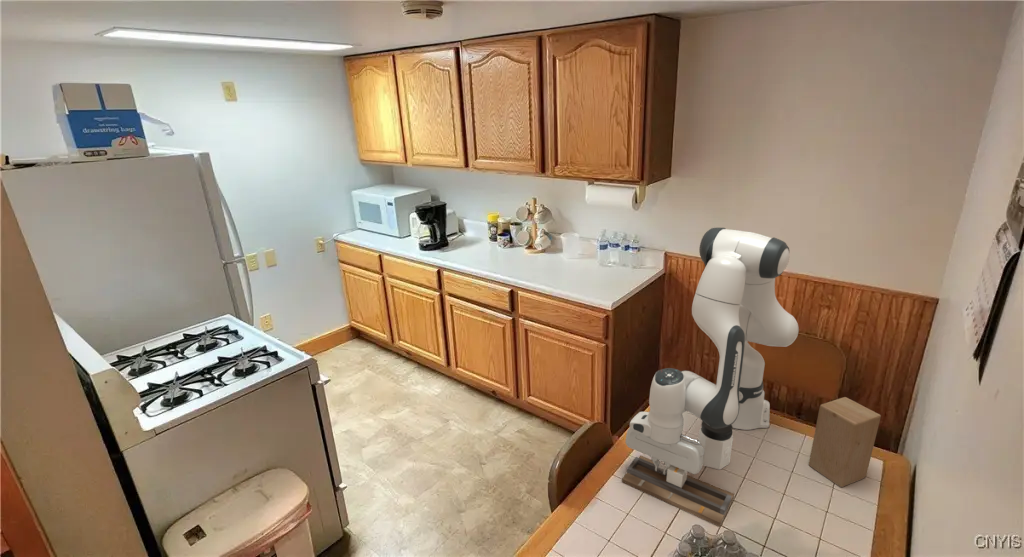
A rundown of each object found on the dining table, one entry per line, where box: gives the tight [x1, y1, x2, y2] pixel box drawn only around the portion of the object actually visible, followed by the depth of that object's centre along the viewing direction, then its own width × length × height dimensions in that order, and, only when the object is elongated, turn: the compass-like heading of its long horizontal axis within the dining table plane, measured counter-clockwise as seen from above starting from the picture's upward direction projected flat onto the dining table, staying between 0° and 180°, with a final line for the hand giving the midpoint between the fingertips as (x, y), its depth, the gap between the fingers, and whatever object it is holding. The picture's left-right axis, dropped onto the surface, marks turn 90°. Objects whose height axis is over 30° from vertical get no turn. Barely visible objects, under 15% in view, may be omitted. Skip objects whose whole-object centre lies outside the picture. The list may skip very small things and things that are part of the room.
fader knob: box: [666, 465, 688, 489], centre depth 132 cm, size 4×4×6 cm
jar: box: [697, 420, 734, 470], centre depth 143 cm, size 9×8×12 cm
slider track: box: [621, 455, 735, 528], centre depth 133 cm, size 12×26×3 cm, turn 52°
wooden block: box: [808, 396, 882, 488], centre depth 135 cm, size 10×10×20 cm
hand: (661, 471), depth 135 cm, fingers closed
